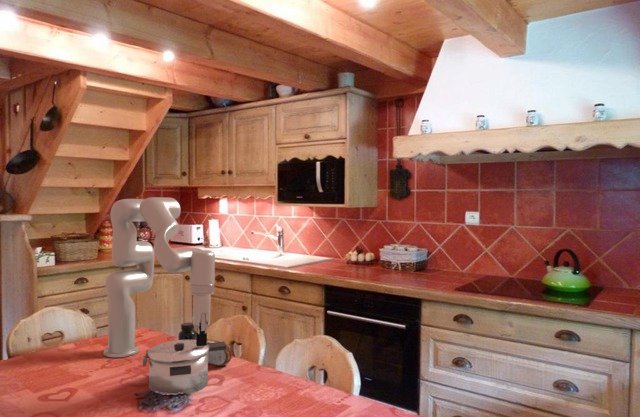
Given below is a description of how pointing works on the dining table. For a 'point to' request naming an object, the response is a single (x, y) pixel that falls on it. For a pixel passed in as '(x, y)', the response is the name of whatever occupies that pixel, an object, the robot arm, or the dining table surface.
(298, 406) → the dining table surface
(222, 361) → the tin
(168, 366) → the cooker pot
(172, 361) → the cooker lid
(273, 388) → the dining table surface
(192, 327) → the supplement bottle
